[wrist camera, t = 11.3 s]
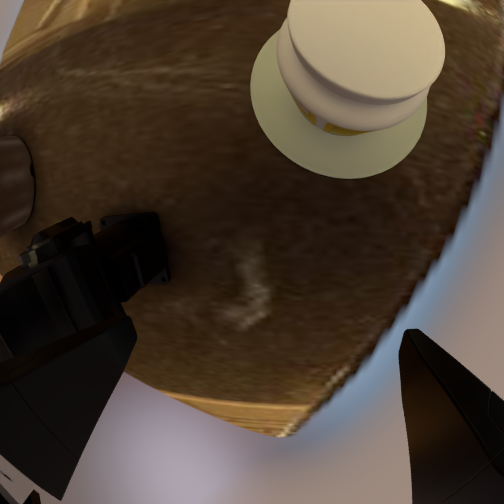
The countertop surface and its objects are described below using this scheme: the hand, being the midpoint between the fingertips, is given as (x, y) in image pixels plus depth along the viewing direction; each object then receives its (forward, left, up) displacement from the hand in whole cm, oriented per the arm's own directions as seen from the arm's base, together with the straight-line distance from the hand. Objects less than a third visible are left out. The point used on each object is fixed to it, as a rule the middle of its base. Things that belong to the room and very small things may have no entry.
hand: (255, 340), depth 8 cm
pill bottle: (+4, +9, -12) cm, 16 cm away
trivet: (+4, +9, -13) cm, 16 cm away
